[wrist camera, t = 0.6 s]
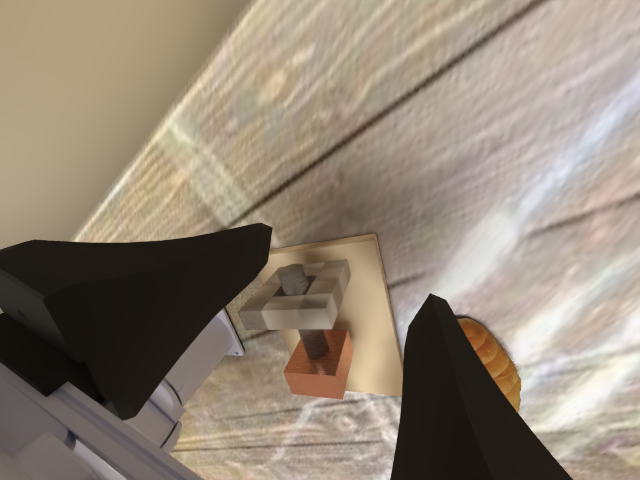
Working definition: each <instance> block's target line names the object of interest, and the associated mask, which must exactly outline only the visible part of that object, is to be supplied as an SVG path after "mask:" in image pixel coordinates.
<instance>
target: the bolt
mask: <svg viewBox="0 0 640 480" xmlns="http://www.w3.org/2000/svg"><path fill="white" fill-rule="evenodd" d="M277 275H278V278H279V280H280V283H281V286H282V289H283V291H284V294H285V296H298V295H306V293H307V291H308V290H309V288H310V287H309V284H308V281H307V277H306V274H305V271H304V268H303V265H302V264H298V263H297V264H291V265H288V266H285V267H283V268H282V269H280V270H279V271H278V273H277ZM298 332H299V335H300V340H299V342H298V344H297V346H296V348H295V350H294V352H293V354H292V356H291V358H290V360H289V362H288V364H287V366H286V368H285V370H284V375H285V377H286V380H287V382H288V384H289V387H290V389H291V392H292V394H298V395H307V396H316V397H325V398H335V399H343V397H344V392H345V388H346V383H347V379H348V374H349V369H350V365H351V360H352V356H353V351H354V350H353V346H352V343H351V339H350V336H349V332H348V330H323V329H298Z"/></svg>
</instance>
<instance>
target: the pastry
mask: <svg viewBox="0 0 640 480" xmlns="http://www.w3.org/2000/svg"><path fill="white" fill-rule="evenodd" d="M457 320H458V322H459V324H460V326H461V327H462V329H463V331H464V333H465V335H466V336H467V338H468V340H469V341H470V343H471V345H472V346H473V348H474V350H475V351H476V353H477V355H478V356H479V358H480V360H481V361H482V363H483V364H484V366H485V367H486V369H487V370H488V372H489V373H490V375H491V376H492V378H493V379H494V381H495V382H496V384H497V385H498V387H499V388H500V390H501V391H502V392H503V394H504V395H505V396H506V398H507V399H508V400H509V402H510V403H511V404H512V406H513V407H514V409H515V410H516V411H517V413H518V411H519V406H520V401H521V399H520V391H521V379H520V377H519V376H518V374H517V371H516V369H515V365H514V363H513V362H512V360H511V359H510V358H509V357H508V355H507V354H506V353H505V352H504V351H503V349H502V348H501V347H500V346H499V344H498V343H497V342H496V340H495V339H494V337H493V336H492V335H491V334H490V333H489V332H488V330H487V329H486V328H485V327H483V326H482V325H480V324H479V323H477V322H476V321H475V320H473V319H469V318H462V319H457Z"/></svg>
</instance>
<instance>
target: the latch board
mask: <svg viewBox="0 0 640 480" xmlns="http://www.w3.org/2000/svg"><path fill="white" fill-rule="evenodd" d="M297 263H298V264H302V265H303V268H304V271H305V274H306V277H307V281H308V284H309V287H310V288H309V290H308V291H307V293H306V295H298V296H285V294H284V291H283V289H282V286H281V283H280V280H279V278H278V275H277V273H278V271H279V270H280V269H282V268H283V267H285V266H288V265H291V264H297ZM259 276H260V278H261V281H262V284H263V285H262V286H261V287H260V288H259V290H258V291H257V292H256V293H255V294H254V295H253V296H252V297H251V298H250V299H249V300H248V301H247V302H246V303H245V305H244V306H243V307H242V308H241V309H240V310H239V311H238V314H239V316H240V318H241V320H242V323H243V325H244V327H245V329H246V330H281V332H282V334H283V337H284V339H285V342H286V344H287V347H288V350H289V352H290V355H291V356H292V354H293V352H294V350H295V348H296V346H297V344H298V342H299V340H300V335H299V332H298V329H323V330H348V332H349V336H350V339H351V343H352V346H353V350H354V351H353V356H352V360H351V365H350V369H349V374H348V379H347V383H346V388H345V391H352V392H363V393H373V394H384V395H395V396H402V383H403V360H402V355H401V350H400V345H399V341H398V336H397V331H396V326H395V322H394V317H393V312H392V307H391V303H390V298H389V293H388V289H387V284H386V279H385V274H384V270H383V265H382V260H381V255H380V251H379V246H378V241H377V236H376V233H375V234H368V235H362V236H355V237H349V238H342V239H336V240H329V241H323V242H316V243H310V244H303V245H297V246H290V247H284V248H277V249H271V250H269V258H268V263H267V264H266V265H265V267H264V268H263V269H262V271H261V272H260V273H259Z"/></svg>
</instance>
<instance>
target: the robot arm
mask: <svg viewBox="0 0 640 480" xmlns="http://www.w3.org/2000/svg"><path fill="white" fill-rule="evenodd" d="M271 235H272V227H270V226H268V225H265V224H263V223H256V224H251V225H246V226H242V227H238V228H233V229H229V230H224V231H220V232H215V233H210V234H204V235H199V236H194V237H188V238H180V239H172V240H163V241H148V242H130V243H85V242H65V241H47V240H31V241H27V242H23V243H20V244H17V245H14V246H10V247H7V248H4V249H1V250H0V308H1V309H2V311H3V312H4V313H2V314H0V480H204V479H203V478H201V477H200V476H198V475H197V474H196V473H194V472H193V471H191V470H190V469H189V468H187V467H186V466H185V465H183V464H182V463H180V462H179V461H178V460H176V459H175V458H173V457H172V456H171V455H169V454H170V453H171V451H172V450H173V448H174V446H175V445H176V443H177V441H178V439H179V437H180V432H181V427H182V423H181V422H180V421H179V419H180V417H181V416H182V415H183V414H184V412H185V409H184V408H183V407H184V406H185V404H186V403H187V402H188V401H189V399H190V398H191V397H192V396H193V394H194V393H195V392H196V391H197V389H198V388H199V387H200V386H201V384H202V383H203V382H204V381H205V380H206V378H207V377H208V376H209V375H210V373H211V372H212V371H213V370H214V368H215V367H216V366H217V365H218V363H219V362H220V361H221V360H222V358H223V357H224V356H225V355H234V356H242V355H243V354H244V350H243V348H242V345H241V343H240V341H239V339H238V337H237V335H236V333H235V330H234V328H233V326H232V324H231V322H230V320H229V318H228V315H227V313H226V311H225V309H224V307H225V306H226V305H227V304H228V303H230V302H231V301H232V300H233V299H234V298H235V297H236V296H237V295H238V294H239V293H240V292H241V291H242V290H243V289H244V288H246V287H247V286H248V285H249V284H250V283H251V282H252V281H253V280H254V279H255V278H256V277H257V275H258V274H259V273H260V272H261V271H262V269H263V268H264V267H265V265H266V264H267V263H268V258H269V250H270V243H271ZM391 480H573V479H572V478H571V477H570V476H569V474H568V473H567V472H566V471H565V470H564V469H563V468H562V466H561V465H560V464H559V463H558V462H557V461H556V459H555V458H554V457H553V456H552V455H551V453H550V452H549V451H548V450H547V449H546V447H545V446H544V445H543V444H542V443H541V441H540V440H539V439H538V438H537V437H536V435H535V434H534V433H533V432H532V431H531V429H530V428H529V427H528V425H527V424H526V423H525V422H524V420H523V419H522V418H521V417H520V415H519V414H518V413H517V411H516V410H515V409H514V407H513V406H512V404H511V403H510V402H509V400H508V399H507V398H506V396H505V395H504V394H503V392H502V391H501V390H500V388H499V387H498V385H497V384H496V382H495V381H494V379H493V378H492V376H491V375H490V373H489V372H488V370H487V369H486V367H485V366H484V364H483V363H482V361H481V360H480V358H479V356H478V355H477V353H476V351H475V350H474V348H473V346H472V345H471V343H470V341H469V340H468V338H467V336H466V335H465V333H464V331H463V329H462V327H461V326H460V324H459V322H458V320H457V318H456V317H455V315H454V313H453V311H452V309H451V308H450V306H449V304H448V303H447V301H446V300H445V299H443V298H440V297H438V296H435V295H433V294H431V293H430V294H429V296H428V297H427V299H426V300H425V302H424V304H423V305H422V307H421V308H420V310H419V311H418V313H417V314H416V316H415V317H414V319H413V320H412V322H411V324H410V325H409V327H408V332H407V337H406V342H405V348H404V363H403V383H402V403H401V415H400V424H399V430H398V437H397V444H396V450H395V456H394V462H393V468H392V474H391Z"/></svg>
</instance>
